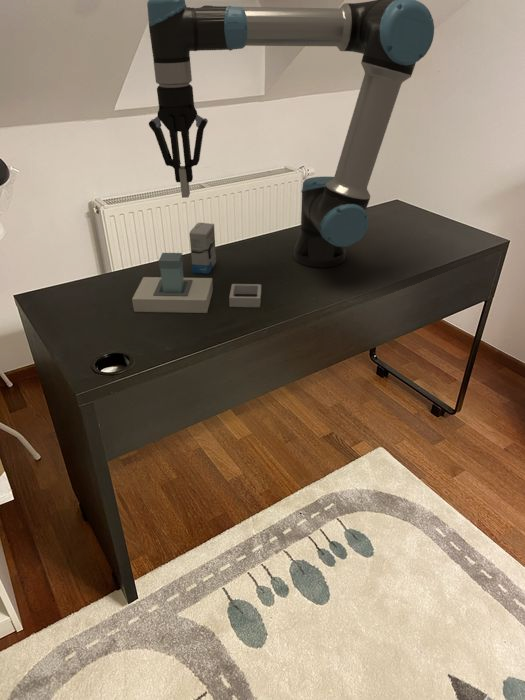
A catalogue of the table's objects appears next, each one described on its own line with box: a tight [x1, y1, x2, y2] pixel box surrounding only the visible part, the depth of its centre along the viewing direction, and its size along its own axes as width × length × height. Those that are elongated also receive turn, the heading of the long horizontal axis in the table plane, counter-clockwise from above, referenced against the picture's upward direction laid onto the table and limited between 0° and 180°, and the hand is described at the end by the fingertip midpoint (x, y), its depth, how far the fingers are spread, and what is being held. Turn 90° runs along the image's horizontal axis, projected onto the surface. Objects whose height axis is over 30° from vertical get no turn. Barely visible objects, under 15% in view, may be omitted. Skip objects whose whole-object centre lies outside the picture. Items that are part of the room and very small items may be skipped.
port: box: [131, 276, 214, 314], centre depth 132 cm, size 18×12×4 cm, turn 88°
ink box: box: [189, 222, 217, 275], centre depth 146 cm, size 8×5×12 cm, turn 168°
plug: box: [158, 252, 185, 293], centre depth 130 cm, size 5×5×12 cm
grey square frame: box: [228, 283, 262, 308], centre depth 133 cm, size 8×8×2 cm
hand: (185, 195), depth 124 cm, fingers closed
